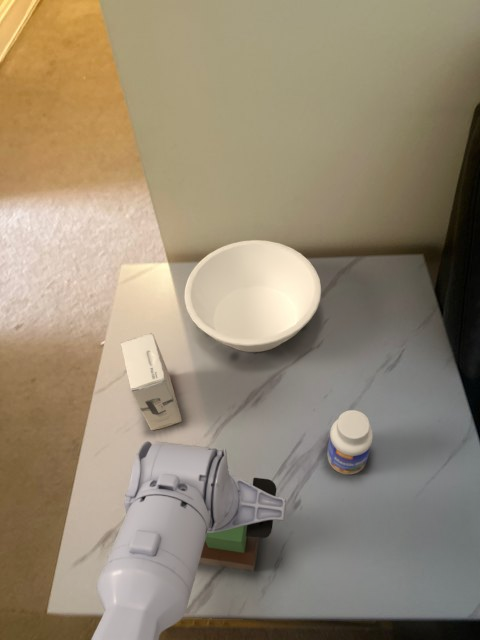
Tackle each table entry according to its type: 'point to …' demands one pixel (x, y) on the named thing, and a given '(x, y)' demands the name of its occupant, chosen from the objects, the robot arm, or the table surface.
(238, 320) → the bowl
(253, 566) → the walnut block
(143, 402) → the ink box
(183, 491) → the robot arm
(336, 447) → the pill bottle
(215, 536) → the green cube
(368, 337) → the table surface
